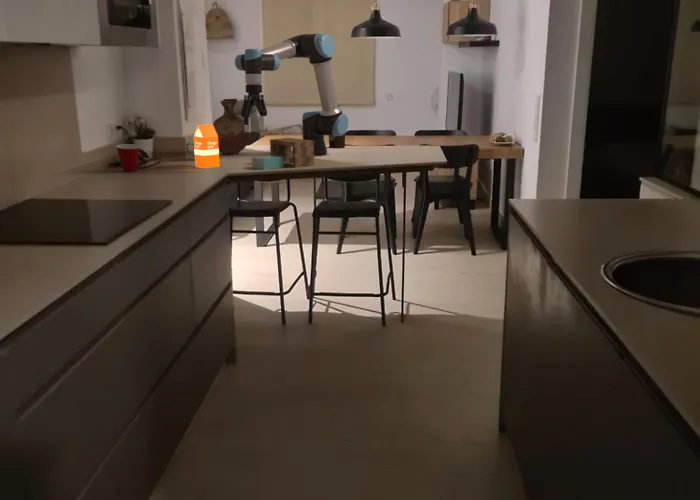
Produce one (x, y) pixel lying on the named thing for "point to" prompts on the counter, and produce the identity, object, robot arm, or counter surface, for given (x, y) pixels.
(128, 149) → the plastic cup
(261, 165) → the teal rectangular block
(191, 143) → the mug
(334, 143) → the olive oil
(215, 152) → the orange juice
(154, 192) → the counter surface
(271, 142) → the shelf
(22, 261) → the counter surface
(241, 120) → the jug
